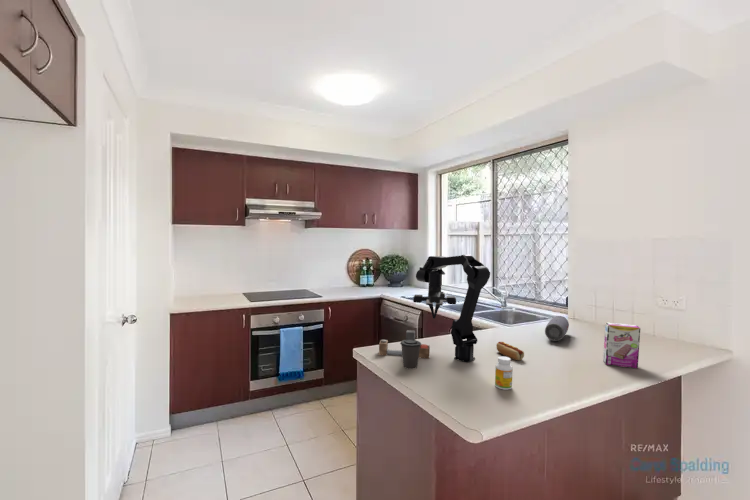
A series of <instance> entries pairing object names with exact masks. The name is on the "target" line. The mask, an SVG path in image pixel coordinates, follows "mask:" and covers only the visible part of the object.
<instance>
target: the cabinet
mask: <svg viewBox="0 0 750 500" xmlns="http://www.w3.org/2000/svg"><path fill="white" fill-rule="evenodd" d="M427 345H428V344H427ZM430 347H431V346H430V344H429V345H428V349H427V348H420V350H419V357H418V359H430V353H431V352H430V350H431V349H430Z"/></svg>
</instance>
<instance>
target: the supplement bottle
mask: <svg viewBox="0 0 750 500" xmlns="http://www.w3.org/2000/svg"><path fill="white" fill-rule="evenodd" d="M511 360H512V359H511V358H509V357H506V356H505V355H503V356H498V357H497V363H495V374H494V375H495V378H494V386H495V388H497V389H500V390H504V391H507V390H511V389H512V388H513V366H512V364H511V363H512V361H511Z"/></svg>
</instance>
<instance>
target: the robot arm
mask: <svg viewBox="0 0 750 500" xmlns="http://www.w3.org/2000/svg"><path fill="white" fill-rule="evenodd" d="M458 265H460V266H462V269H463V273H465V274H466V281H467V282H466V283H467V287H468V288H467V290H466V293H465V298H464V300H463V301H464V302H463V304H462V308H461V311H460V315H459V317H458V319H453V320H452V324H451V327H450V334H451V339H452V343H453V345H455V346H454V357H453V359H454V360H457V361H460V362H464V363H470V362H472V361H474V360H475V359H476V358H475V356H474V350H475V349H474V346H475V345H477V343H478V338H477V337H476V334H475V333H474V332H473V331H474V324H473V322H472V321H473V318H474V313H475V311H476V307H477V304H478V301H479V297H480V295H481V294H480V293H481V291H482V289H483V288H484V287H485V286H486V285H487V283H488V282H489V279H490V278H491V271H490V269H489V268H488V267H487V266H485V264H483V263H482V262H480V261H479V260H478V259H476V258H475V257H474V256H473V255H472V254H461V255H455V256H444V255H443V256H442V255H435V256H434V255H433V256H432V255H431V256H428V257H427V260H426V261H425V262H424V264H423V266H421V267H419V268H418V270H417V271H416V274H415V278H416V280H417V281H419V282H422V283H428V289H427V291H428V292H427V296H423V294H414V295H413V299H412V300H413V301H412V302H413V303H419V304H420V303H422V302H426V303H425V305H426V306H428V307H429V309H430V313H431V315H432V319H436V317H437V314H438V311H439V309H440V307H442V306H444V304H443V303H447V304H448V305H457V298H456V296H454V295H453V296H452V295H447V296H446V292H445V291H442V280H443V279H442V277H443V276H442V275H444V276H445V275H446V273H445V271H444V270H443V269H444V268H446V267H448V266H458ZM445 296H446V297H445ZM434 303H435V307H434Z"/></svg>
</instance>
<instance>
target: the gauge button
mask: <svg viewBox="0 0 750 500" xmlns="http://www.w3.org/2000/svg"><path fill="white" fill-rule="evenodd" d="M420 348H427V349H428V344H426V343H421V346H420Z"/></svg>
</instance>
